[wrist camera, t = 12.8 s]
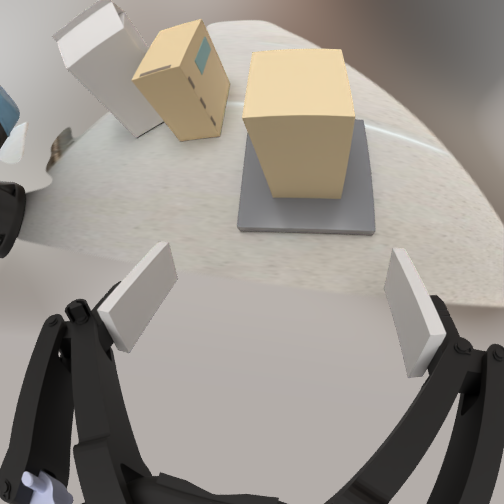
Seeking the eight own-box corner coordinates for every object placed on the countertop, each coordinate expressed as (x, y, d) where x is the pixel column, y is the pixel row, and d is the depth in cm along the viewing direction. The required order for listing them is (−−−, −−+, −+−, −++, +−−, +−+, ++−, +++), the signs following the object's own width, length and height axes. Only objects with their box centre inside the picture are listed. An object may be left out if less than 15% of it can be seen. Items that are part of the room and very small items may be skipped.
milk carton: (183, 112, 30) (104, 1, 12) (136, 138, 31) (44, 47, 13) (173, 84, 32) (109, -11, 14) (132, 108, 33) (58, 26, 15)
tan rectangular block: (272, 197, 24) (241, 118, 13) (276, 138, 25) (252, 52, 15) (341, 199, 22) (356, 116, 12) (337, 138, 24) (342, 49, 13)
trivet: (240, 231, 25) (236, 227, 24) (251, 126, 28) (248, 120, 26) (372, 235, 22) (375, 231, 21) (362, 126, 25) (363, 120, 24)
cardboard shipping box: (179, 141, 29) (130, 80, 19) (194, 89, 31) (159, 30, 21) (220, 136, 28) (179, 65, 18) (230, 83, 30) (202, 18, 19)
